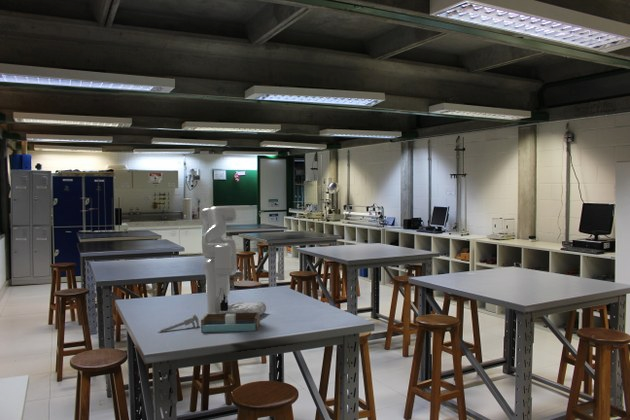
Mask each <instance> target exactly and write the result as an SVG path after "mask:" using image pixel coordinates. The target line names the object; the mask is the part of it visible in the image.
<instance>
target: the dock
mask: <svg viewBox="0 0 630 420" xmlns="http://www.w3.org/2000/svg"><path fill="white" fill-rule="evenodd" d="M226 314H236V320H255V331H258V330H259V327H260V324H261V321H260V319H261V318H260V316H259V312H252V313H217V314H207V313H205V314H204V316H202V318H201V319H200V327H201V328H200V332H201V333H203V332H202V325H205V324H206V323H207V322H208V321H225V315H226Z"/></svg>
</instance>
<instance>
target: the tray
mask: <svg viewBox="0 0 630 420" xmlns="http://www.w3.org/2000/svg"><path fill="white" fill-rule="evenodd" d="M255 331H256V330H255V320H236V324H225V321H208V322H207V323H206V324H205V325H202V332H201V333H220V332H224V333H225V332H255Z"/></svg>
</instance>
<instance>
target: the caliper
mask: <svg viewBox="0 0 630 420" xmlns="http://www.w3.org/2000/svg"><path fill="white" fill-rule="evenodd" d="M190 324H191V325H192V326H193V327H194V328H195V327H196V326H197V327H198V326H199V325H200V324H199V318H198V315H196V314H193V315H192V317H189V318H187V319H184V320H183V321H181V322H178V323H175V324H173V325H170V326H167V327H164V328H162V329H161V328H160V330H159V331H158V332H160V333H163V332H162V331H166V332H168V331H171V330H173V329H175V328H179V327H182V326H189V325H190ZM195 324H196V325H195Z"/></svg>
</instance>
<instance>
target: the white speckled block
mask: <svg viewBox="0 0 630 420" xmlns="http://www.w3.org/2000/svg"><path fill="white" fill-rule="evenodd" d="M225 324H236V314H226V315H225Z"/></svg>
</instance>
